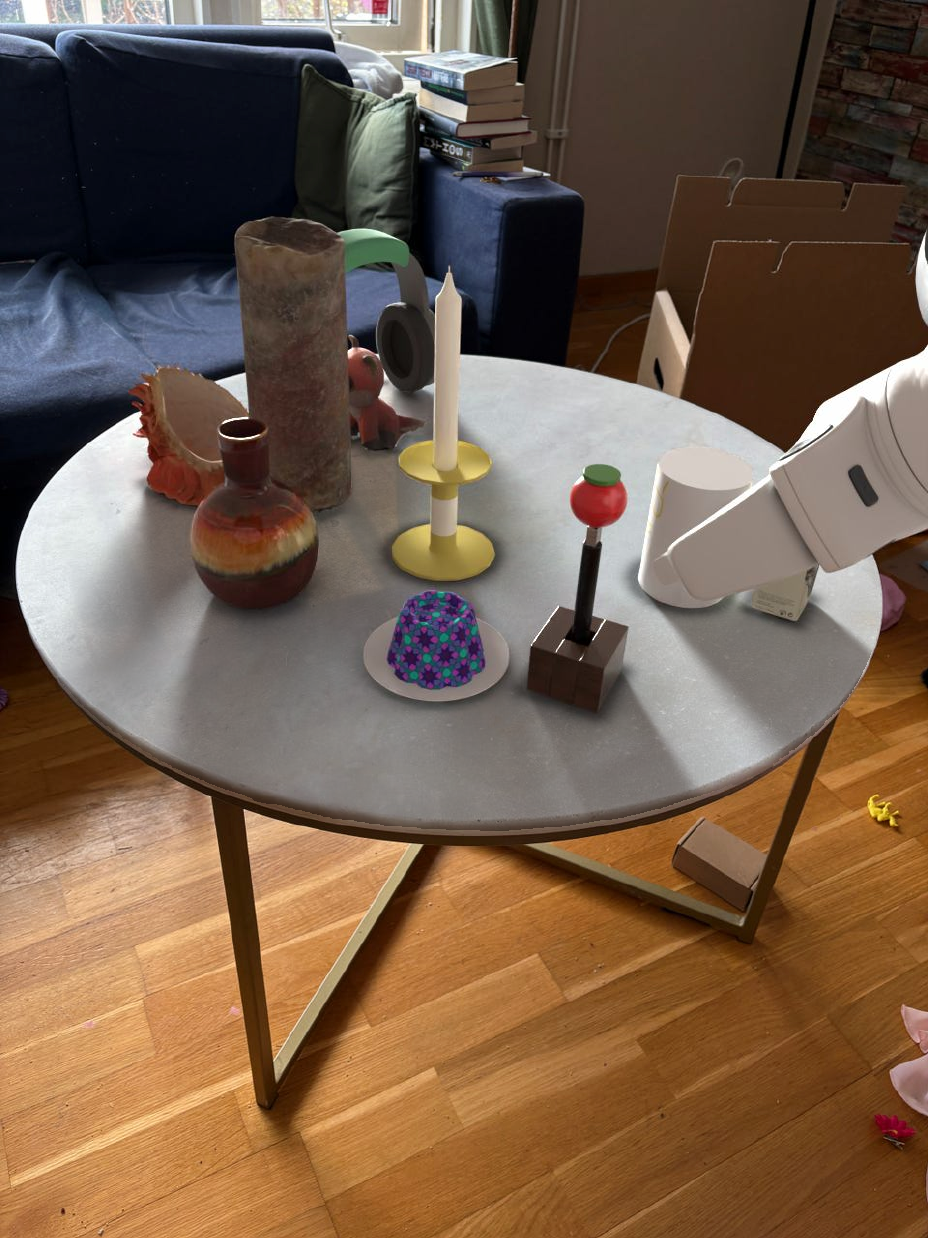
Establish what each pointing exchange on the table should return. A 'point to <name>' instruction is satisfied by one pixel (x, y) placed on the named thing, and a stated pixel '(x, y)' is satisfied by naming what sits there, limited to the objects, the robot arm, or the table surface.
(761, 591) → the box
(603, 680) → the block
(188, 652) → the table surface
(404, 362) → the headphones
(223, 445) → the vase
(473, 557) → the candle
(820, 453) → the robot arm
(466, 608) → the pudding
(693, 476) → the white cylinder
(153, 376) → the seashell
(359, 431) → the stuffed fox
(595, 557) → the joystick
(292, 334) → the brown textured cylinder
